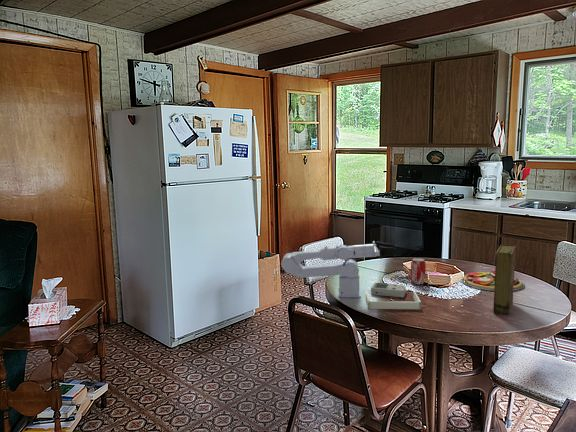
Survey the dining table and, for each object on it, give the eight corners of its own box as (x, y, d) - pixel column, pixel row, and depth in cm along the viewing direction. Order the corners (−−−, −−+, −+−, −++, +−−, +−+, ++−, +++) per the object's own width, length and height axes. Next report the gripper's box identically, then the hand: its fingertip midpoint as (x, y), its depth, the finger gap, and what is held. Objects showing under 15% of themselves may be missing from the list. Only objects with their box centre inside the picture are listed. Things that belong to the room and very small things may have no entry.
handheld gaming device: (403, 298, 196) (403, 290, 195) (370, 295, 201) (370, 287, 200) (406, 292, 204) (406, 284, 203) (374, 289, 209) (374, 281, 209)
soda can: (426, 285, 211) (426, 261, 209) (411, 285, 213) (411, 261, 211) (424, 281, 218) (425, 257, 216) (410, 280, 220) (410, 257, 218)
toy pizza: (507, 274, 226) (507, 266, 225) (536, 292, 199) (536, 283, 198) (452, 276, 227) (453, 267, 226) (474, 293, 199) (474, 284, 199)
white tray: (368, 308, 184) (368, 301, 183) (365, 297, 197) (365, 291, 196) (421, 309, 181) (421, 302, 181) (415, 298, 195) (415, 291, 194)
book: (498, 301, 188) (501, 244, 184) (512, 303, 185) (515, 245, 182) (493, 313, 175) (496, 252, 171) (508, 316, 172) (511, 253, 168)
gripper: (364, 245, 190) (396, 243, 188) (361, 238, 204) (391, 236, 202) (365, 261, 191) (397, 259, 189) (363, 253, 205) (392, 251, 203)
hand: (394, 248), depth 196 cm, fingers open, 7 cm apart
